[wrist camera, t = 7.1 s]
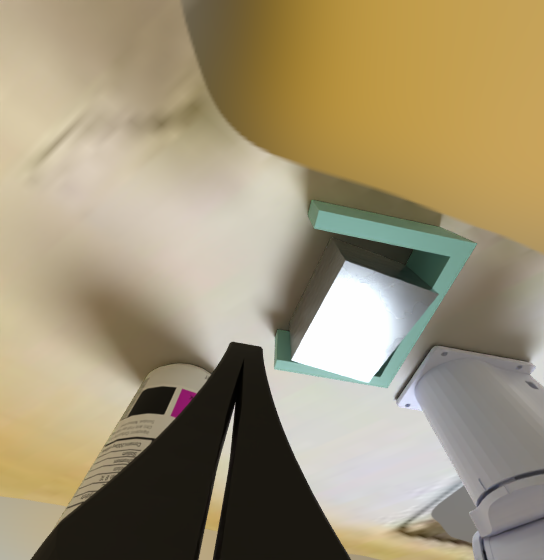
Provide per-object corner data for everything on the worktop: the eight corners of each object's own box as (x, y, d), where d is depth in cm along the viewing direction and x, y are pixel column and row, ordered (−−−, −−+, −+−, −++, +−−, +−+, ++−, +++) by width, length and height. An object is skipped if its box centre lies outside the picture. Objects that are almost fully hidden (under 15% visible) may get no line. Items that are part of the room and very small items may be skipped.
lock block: (403, 263, 18) (439, 294, 14) (351, 340, 21) (368, 383, 17) (330, 236, 17) (345, 260, 13) (289, 320, 21) (291, 360, 17)
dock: (439, 226, 16) (477, 243, 13) (372, 355, 22) (387, 388, 19) (311, 199, 16) (319, 210, 13) (275, 338, 21) (274, 369, 18)
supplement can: (233, 369, 23) (170, 654, 10) (219, 419, 27) (158, 676, 14) (149, 349, 22) (-44, 632, 9) (145, 404, 26) (5, 662, 13)
